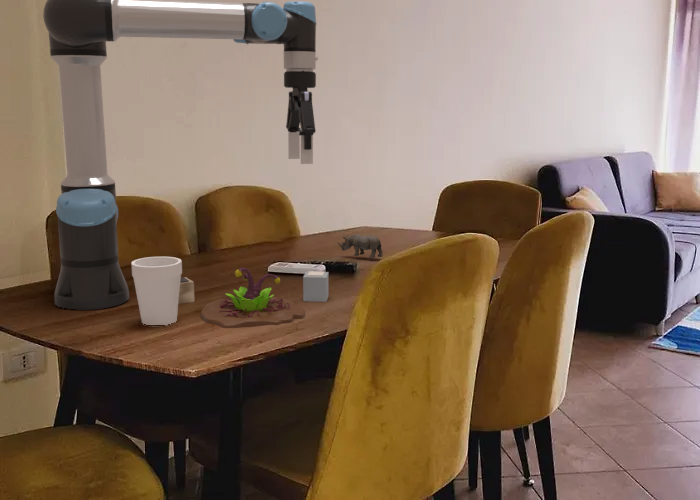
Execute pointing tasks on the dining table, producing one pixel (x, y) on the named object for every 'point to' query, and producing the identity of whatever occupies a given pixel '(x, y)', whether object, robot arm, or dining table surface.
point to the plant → (251, 306)
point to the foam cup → (157, 288)
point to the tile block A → (186, 291)
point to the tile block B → (315, 286)
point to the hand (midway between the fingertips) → (300, 161)
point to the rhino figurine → (362, 244)
